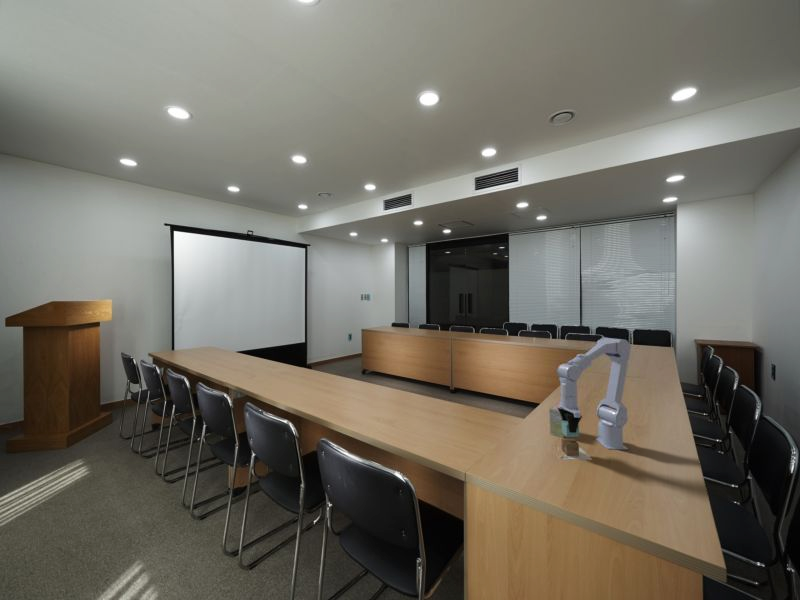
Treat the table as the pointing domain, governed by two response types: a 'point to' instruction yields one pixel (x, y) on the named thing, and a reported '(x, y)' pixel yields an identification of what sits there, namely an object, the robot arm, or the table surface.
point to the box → (555, 422)
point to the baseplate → (581, 456)
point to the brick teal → (566, 430)
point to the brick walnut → (570, 447)
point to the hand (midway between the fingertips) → (569, 429)
